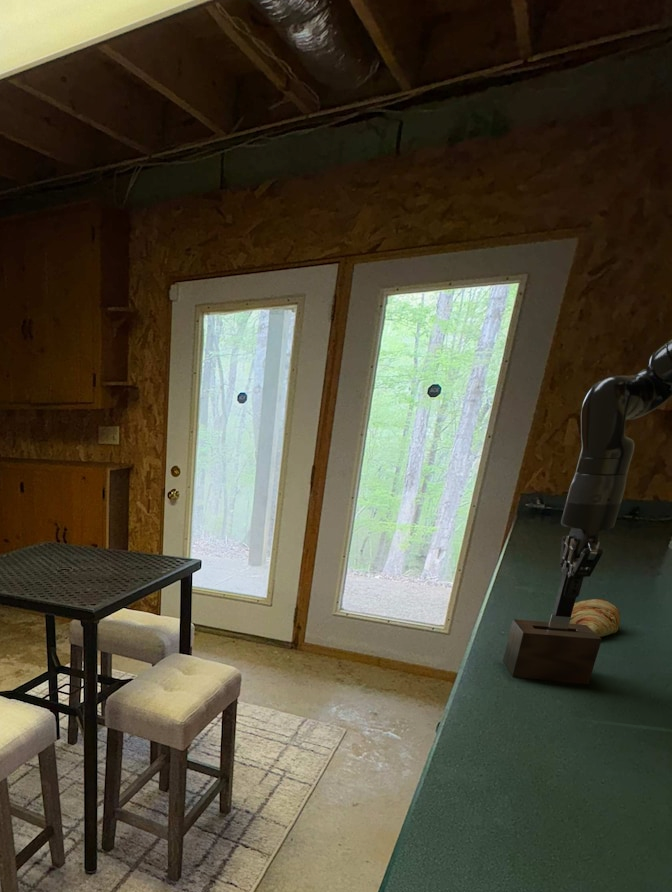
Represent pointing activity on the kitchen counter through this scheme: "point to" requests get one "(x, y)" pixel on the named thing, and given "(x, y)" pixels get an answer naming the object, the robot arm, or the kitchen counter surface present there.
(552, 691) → the kitchen counter surface
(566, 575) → the knife
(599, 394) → the robot arm
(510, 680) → the kitchen counter surface
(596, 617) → the croissant
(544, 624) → the knife block
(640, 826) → the kitchen counter surface
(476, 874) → the kitchen counter surface
